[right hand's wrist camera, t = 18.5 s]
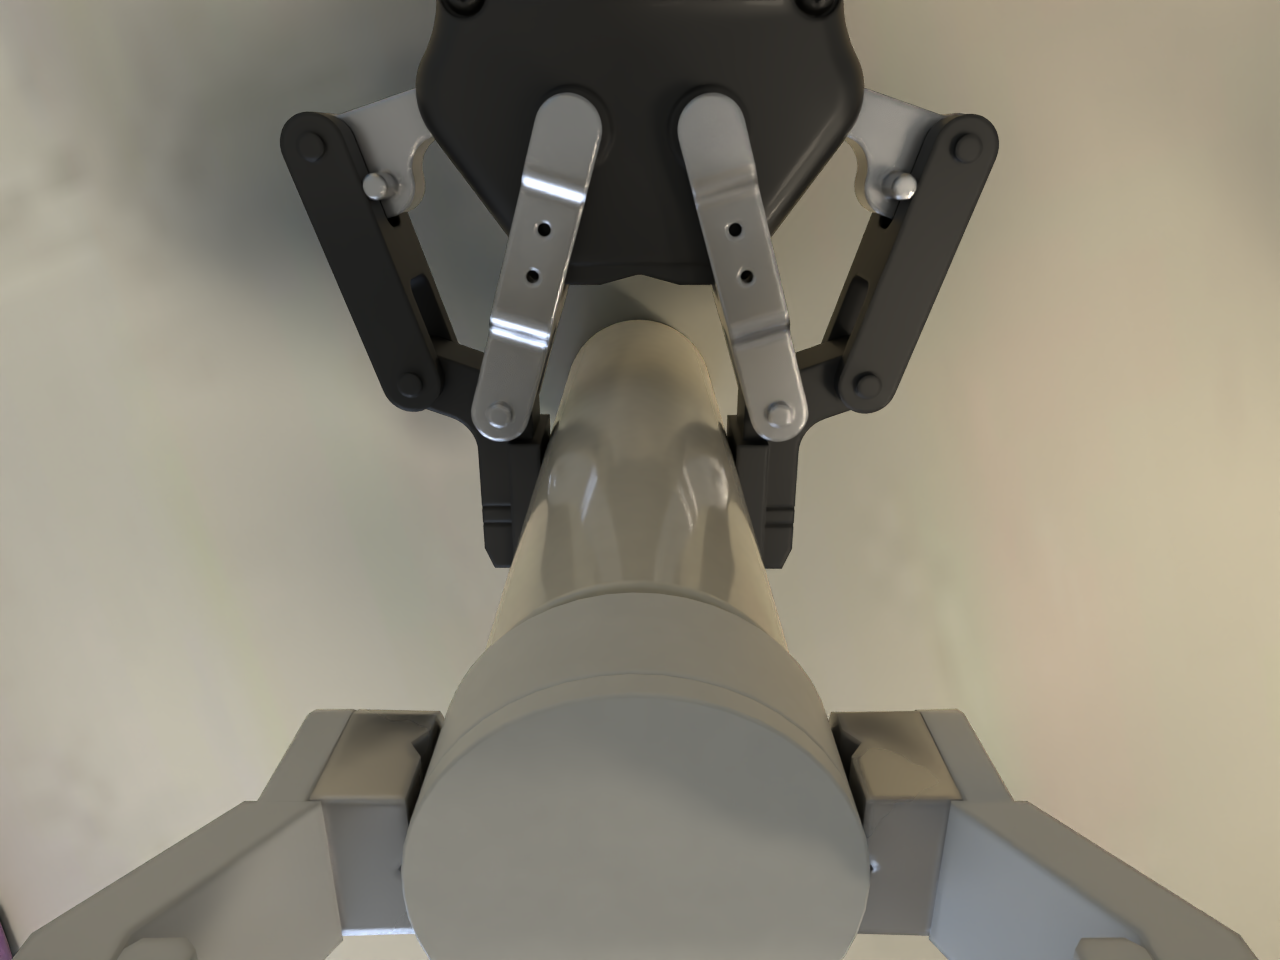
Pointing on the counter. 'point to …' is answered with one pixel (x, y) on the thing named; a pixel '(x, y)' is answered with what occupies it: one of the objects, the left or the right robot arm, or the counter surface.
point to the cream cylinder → (638, 489)
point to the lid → (635, 797)
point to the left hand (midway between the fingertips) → (639, 573)
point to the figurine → (4, 946)
